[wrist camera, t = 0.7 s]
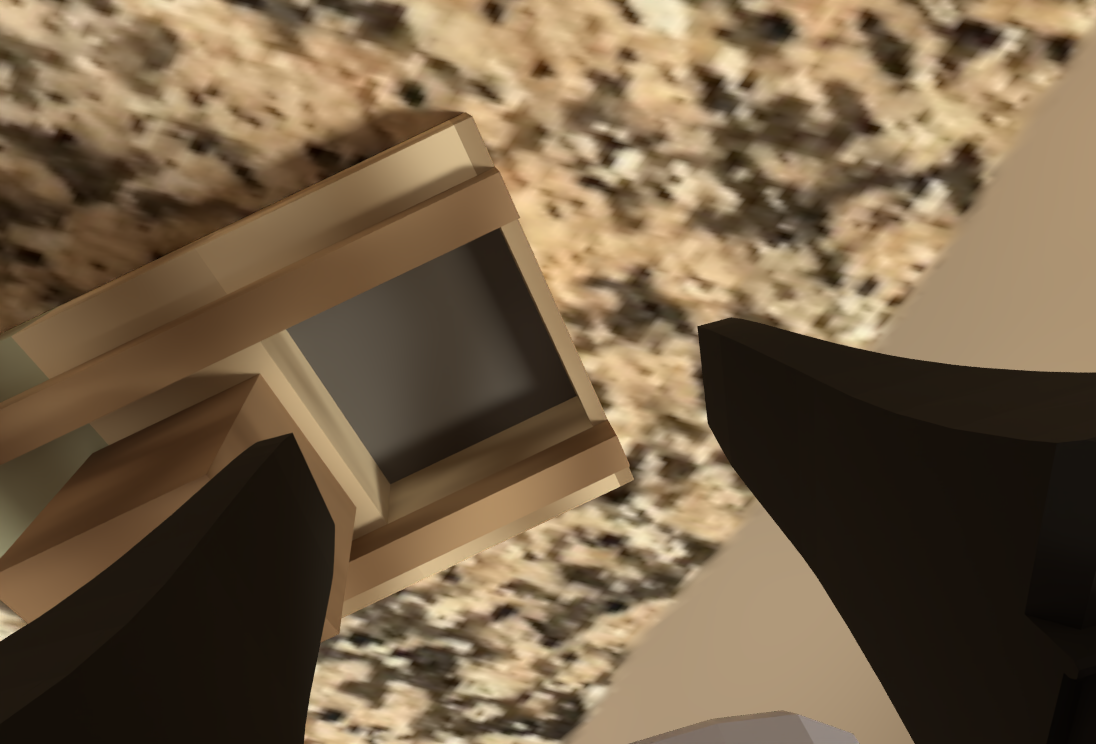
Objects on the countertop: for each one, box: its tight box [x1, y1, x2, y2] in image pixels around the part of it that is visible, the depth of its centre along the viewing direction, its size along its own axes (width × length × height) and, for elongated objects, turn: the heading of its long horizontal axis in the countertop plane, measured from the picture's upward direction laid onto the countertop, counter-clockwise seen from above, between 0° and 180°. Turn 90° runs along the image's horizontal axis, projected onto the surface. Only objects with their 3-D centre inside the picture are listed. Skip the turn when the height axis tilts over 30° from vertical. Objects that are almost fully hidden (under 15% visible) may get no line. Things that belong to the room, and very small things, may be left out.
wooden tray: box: [0, 112, 634, 618], centre depth 19 cm, size 18×12×4 cm, turn 114°
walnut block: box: [0, 374, 356, 643], centre depth 16 cm, size 5×5×5 cm
